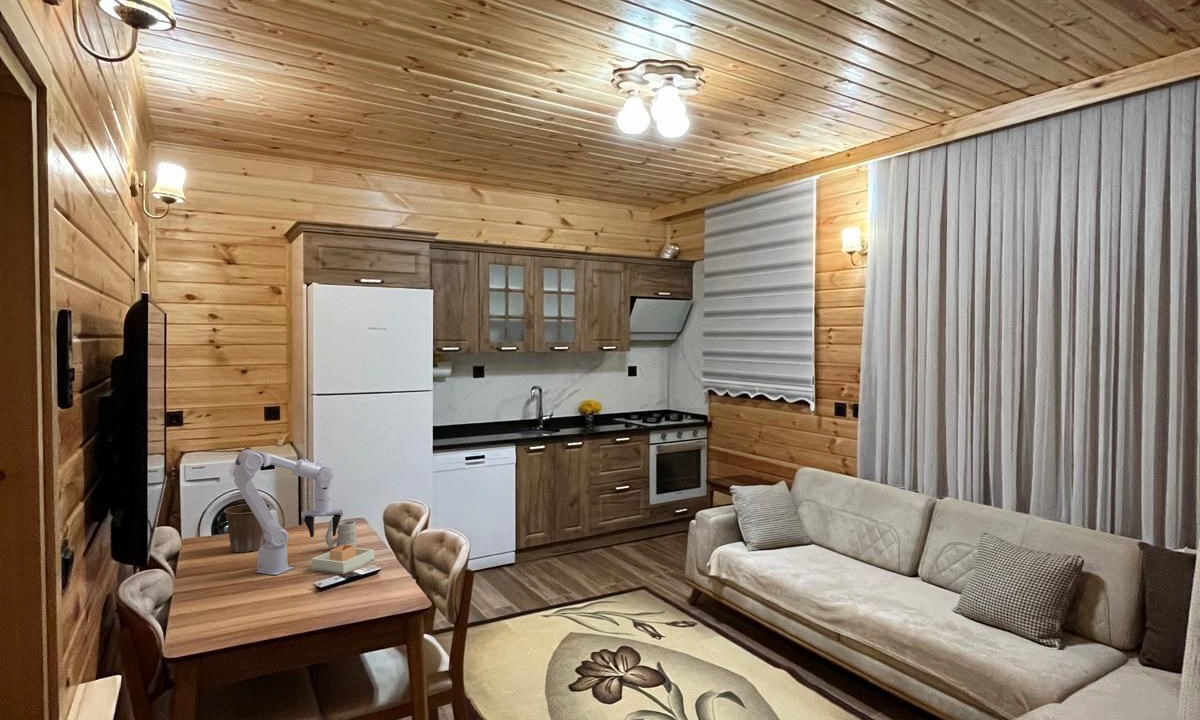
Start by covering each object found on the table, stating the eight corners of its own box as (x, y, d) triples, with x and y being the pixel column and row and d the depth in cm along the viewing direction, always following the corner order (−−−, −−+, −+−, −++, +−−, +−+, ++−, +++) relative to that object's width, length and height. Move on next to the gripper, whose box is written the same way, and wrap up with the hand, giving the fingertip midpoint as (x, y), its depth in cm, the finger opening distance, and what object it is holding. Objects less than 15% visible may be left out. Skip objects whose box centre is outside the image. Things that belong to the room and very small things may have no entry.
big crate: (311, 570, 238) (311, 558, 238) (343, 556, 253) (343, 546, 253) (343, 574, 233) (343, 562, 233) (374, 560, 248) (374, 549, 248)
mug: (360, 548, 264) (359, 517, 264) (328, 554, 257) (327, 522, 257) (354, 544, 270) (354, 514, 270) (323, 549, 263) (322, 518, 263)
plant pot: (258, 555, 256) (257, 512, 256) (215, 555, 257) (215, 512, 256) (278, 542, 273) (278, 502, 272) (239, 542, 273) (238, 503, 273)
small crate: (329, 566, 240) (329, 550, 240) (343, 559, 247) (343, 544, 247) (342, 567, 238) (341, 551, 238) (355, 560, 246) (355, 545, 246)
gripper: (298, 502, 242) (299, 540, 242) (341, 500, 245) (341, 537, 245) (304, 498, 249) (304, 534, 249) (345, 496, 252) (345, 532, 252)
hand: (323, 535), depth 248 cm, fingers open, 7 cm apart
